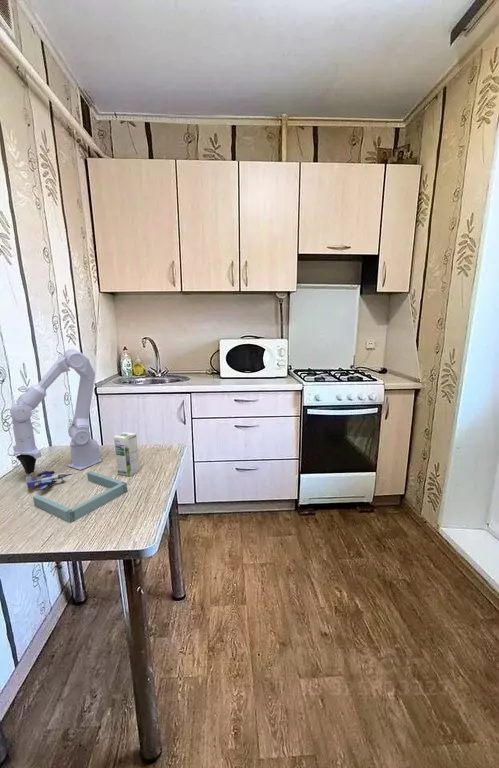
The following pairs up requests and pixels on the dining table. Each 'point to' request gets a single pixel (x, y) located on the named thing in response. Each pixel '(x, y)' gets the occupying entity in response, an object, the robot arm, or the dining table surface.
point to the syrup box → (126, 453)
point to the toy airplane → (45, 479)
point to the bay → (88, 506)
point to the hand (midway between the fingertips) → (30, 472)
